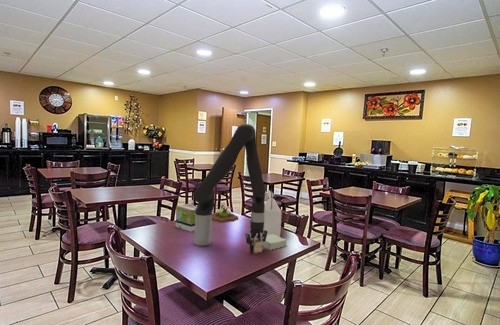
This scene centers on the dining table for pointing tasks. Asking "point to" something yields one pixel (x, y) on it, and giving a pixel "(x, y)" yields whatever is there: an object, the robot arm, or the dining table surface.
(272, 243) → the sage plinth
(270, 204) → the gable box
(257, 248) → the maple block
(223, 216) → the plant
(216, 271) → the dining table surface
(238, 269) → the dining table surface
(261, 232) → the robot arm
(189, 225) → the tea box
